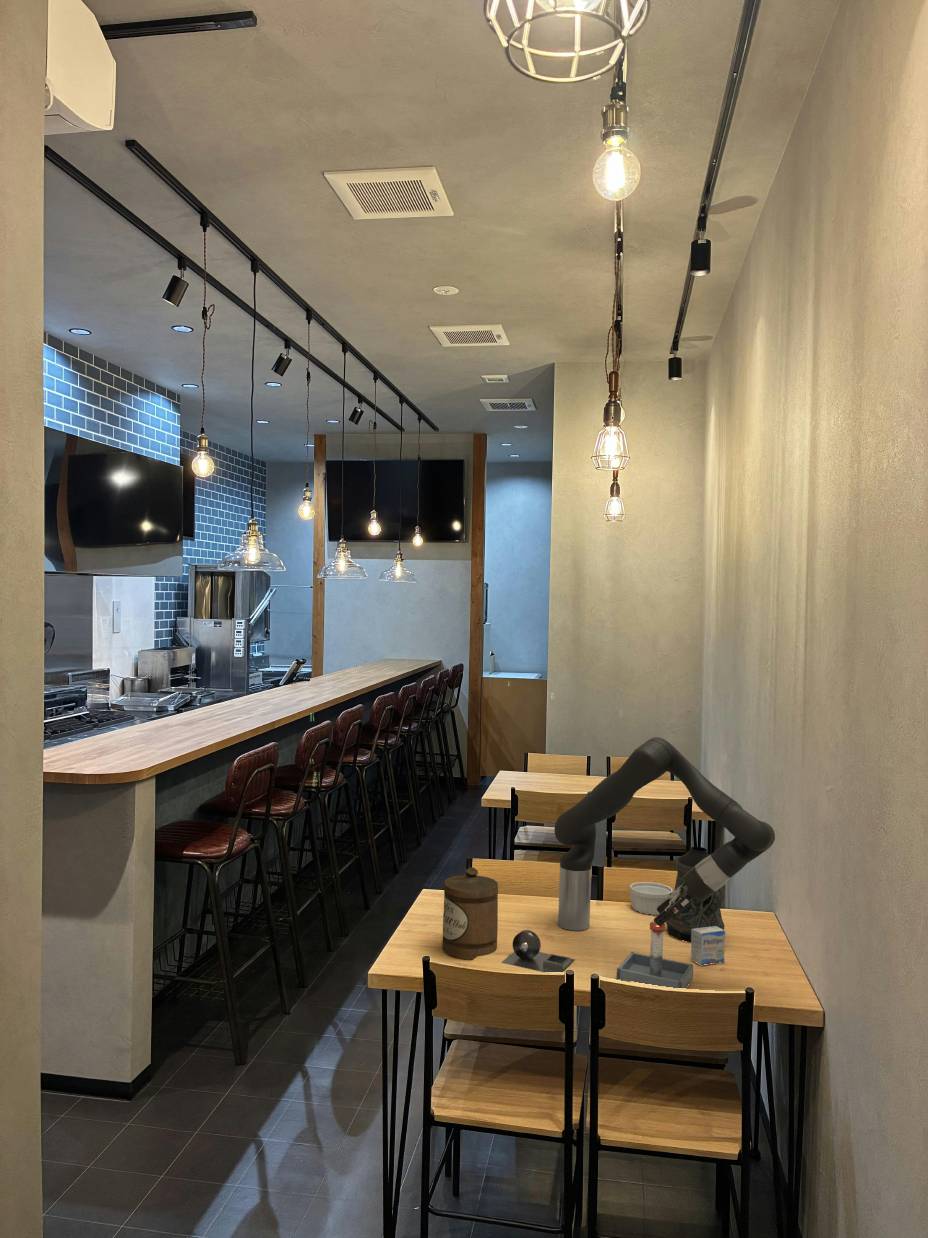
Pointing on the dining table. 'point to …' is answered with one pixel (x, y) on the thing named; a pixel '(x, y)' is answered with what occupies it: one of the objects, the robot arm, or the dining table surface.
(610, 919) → the dining table surface
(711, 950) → the medicine box
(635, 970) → the tray
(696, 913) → the beer stein
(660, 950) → the pin
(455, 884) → the wooden container
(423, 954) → the dining table surface
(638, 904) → the ramekin
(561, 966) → the pin socket base
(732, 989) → the dining table surface
